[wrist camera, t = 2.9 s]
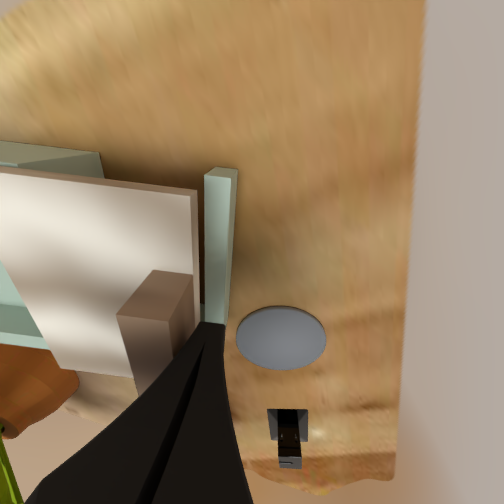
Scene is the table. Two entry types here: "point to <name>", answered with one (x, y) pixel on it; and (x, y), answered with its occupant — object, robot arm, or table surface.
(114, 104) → the table surface
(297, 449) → the black small block
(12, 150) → the sage green u-shaped tray
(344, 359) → the table surface
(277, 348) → the mat
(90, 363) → the lid
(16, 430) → the decorative plant
